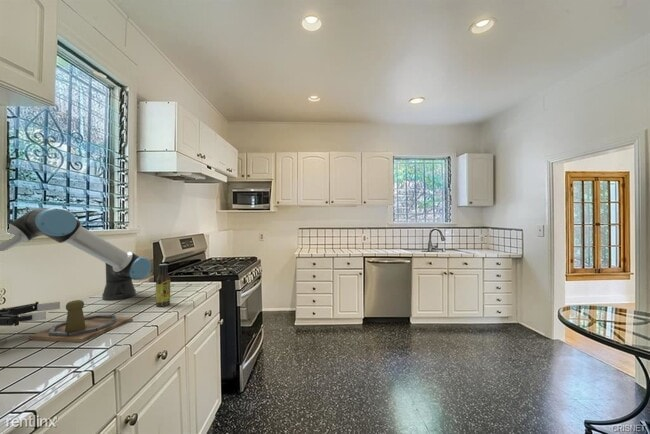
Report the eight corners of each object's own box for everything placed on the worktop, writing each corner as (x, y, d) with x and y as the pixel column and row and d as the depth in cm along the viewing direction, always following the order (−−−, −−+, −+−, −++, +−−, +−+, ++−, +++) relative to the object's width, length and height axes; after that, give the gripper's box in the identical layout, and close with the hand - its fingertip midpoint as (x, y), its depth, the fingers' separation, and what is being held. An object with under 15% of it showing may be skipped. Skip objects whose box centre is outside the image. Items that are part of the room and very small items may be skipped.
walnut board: (87, 318, 127) (87, 314, 127) (132, 320, 124) (132, 316, 124) (28, 339, 105) (28, 335, 105) (81, 342, 102) (81, 338, 102)
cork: (73, 334, 106) (72, 303, 106) (60, 333, 107) (59, 302, 107) (90, 328, 112) (89, 299, 112) (77, 326, 113) (77, 298, 113)
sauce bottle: (165, 307, 141) (164, 265, 141) (152, 307, 142) (152, 265, 142) (173, 303, 147) (172, 263, 147) (161, 303, 148) (161, 263, 148)
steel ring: (86, 316, 126) (86, 314, 126) (127, 318, 122) (127, 315, 122) (35, 334, 106) (35, 331, 106) (81, 337, 103) (81, 334, 103)
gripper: (-8, 319, 112) (64, 310, 121) (-54, 344, 90) (38, 331, 99) (-8, 299, 112) (64, 292, 121) (-55, 319, 90) (38, 309, 99)
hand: (53, 309), depth 110 cm, fingers open, 13 cm apart
